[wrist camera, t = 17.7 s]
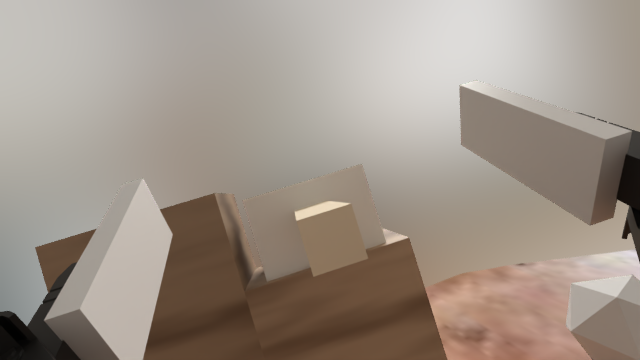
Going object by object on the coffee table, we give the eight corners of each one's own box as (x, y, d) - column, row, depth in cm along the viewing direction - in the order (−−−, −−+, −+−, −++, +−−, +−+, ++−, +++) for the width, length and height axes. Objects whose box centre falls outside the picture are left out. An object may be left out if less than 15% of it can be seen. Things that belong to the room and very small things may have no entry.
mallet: (454, 275, 15) (411, 140, 15) (248, 345, 14) (205, 202, 15) (368, 233, 32) (348, 169, 32) (271, 265, 31) (251, 199, 32)
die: (676, 343, 37) (584, 267, 42) (741, 336, 29) (619, 244, 34) (617, 399, 36) (530, 315, 41) (669, 406, 28) (554, 302, 34)
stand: (495, 513, 25) (379, 143, 26) (153, 653, 23) (35, 247, 24) (446, 436, 33) (358, 155, 34) (188, 535, 31) (100, 234, 32)
